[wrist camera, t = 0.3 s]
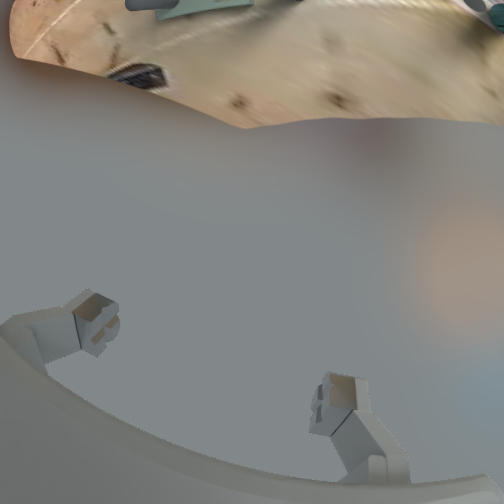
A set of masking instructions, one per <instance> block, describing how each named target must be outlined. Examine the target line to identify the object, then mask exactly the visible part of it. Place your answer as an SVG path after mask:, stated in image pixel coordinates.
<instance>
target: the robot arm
mask: <svg viewBox="0 0 504 504" xmlns="http://www.w3.org/2000/svg"><path fill="white" fill-rule="evenodd" d="M118 312H119V306H118V303H116V302H115V301H113V300H110V299H108V298H106V297H104V296H102V295H100V294H98V293H95V292H94V291H92V290H90V289H85V290H84V291H82V292H81V293H80V294H78V295H77V296H76V297H75V298H73V299H72V300H71V301H69V302H68V303H67V304H66V305H64V306H63V307H60V306H58V307H53V308H48V309H43V310H38V311H33V312H28V313H23V314H18V315H13V316H12V317H10V318H9V319H8V320H7V321H5V322H4V323H3V324H2V325H0V504H504V494H503V492H502V491H501V490H500V488H499V487H498V486H497V485H496V484H495V483H494V481H493V480H492V479H491V478H489V477H488V476H487V475H485V474H477V475H472V476H467V477H461V478H456V479H448V480H441V481H433V482H422V483H411V480H410V470H409V461H408V455H407V454H406V453H405V451H404V450H403V449H402V447H401V446H400V445H399V444H398V443H397V441H396V440H395V439H394V437H393V436H392V435H391V434H390V432H389V431H388V430H387V428H386V427H385V426H384V425H383V424H382V422H381V421H380V420H379V419H378V417H377V416H376V415H375V413H371V409H370V401H369V392H368V384H367V380H366V379H364V378H358V377H352V376H347V375H343V374H338V373H333V372H327V373H326V374H325V375H324V377H323V384H321V385H319V386H318V388H317V389H316V391H315V394H314V397H313V400H312V406H311V409H312V411H313V412H314V414H313V415H312V417H311V418H310V427H309V432H310V433H314V434H319V435H324V436H329V437H331V440H332V442H333V444H334V446H335V448H336V450H337V452H338V454H339V456H340V458H341V460H342V462H343V464H344V466H345V468H346V470H347V472H348V474H347V475H346V476H345V477H343V478H342V479H341V480H339V481H338V482H327V481H318V480H310V479H303V478H296V477H290V476H285V475H279V474H274V473H269V472H264V471H260V470H256V469H252V468H248V467H243V466H240V465H236V464H233V463H229V462H226V461H222V460H219V459H216V458H212V457H209V456H206V455H203V454H200V453H198V452H195V451H192V450H189V449H186V448H184V447H181V446H178V445H176V444H173V443H171V442H168V441H166V440H164V439H161V438H159V437H156V436H154V435H152V434H150V433H147V432H145V431H143V430H141V429H139V428H137V427H134V426H133V425H130V424H128V423H126V422H124V421H123V420H121V419H119V418H117V417H115V416H113V415H111V414H109V413H107V412H105V411H104V410H102V409H100V408H99V407H97V406H95V405H93V404H92V403H90V402H88V401H86V400H85V399H83V398H82V397H80V396H78V395H77V394H75V393H74V392H72V391H71V390H69V389H68V388H66V387H65V386H63V385H62V384H60V383H59V382H57V381H56V380H54V379H53V378H52V377H50V376H49V375H48V372H47V369H46V367H45V364H47V363H49V362H52V361H54V360H57V359H60V358H62V357H65V356H67V355H69V354H72V353H74V352H77V351H79V350H81V349H82V350H84V351H86V352H88V353H90V354H92V355H94V356H96V357H98V356H99V355H100V354H101V353H102V352H103V350H104V349H105V348H106V343H107V342H110V341H112V340H114V338H115V337H116V336H117V333H118V331H119V328H120V319H119V318H118V316H117V313H118Z"/></svg>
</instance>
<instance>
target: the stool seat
mask: <svg viewBox="0 0 504 504" xmlns="http://www.w3.org/2000/svg"><path fill="white" fill-rule="evenodd" d="M245 5H254V3H253V0H230V1H223V2H219V0H125V6H126V8H127V9H128V10H129V11H138V10H151V9H155V10H156V18H157V21H159V20H166V19H170V18H174V17H178V16H182V15H187V14H192V13H197V12H202V11H208V10H214V9H221V8H228V7H236V6H245Z"/></svg>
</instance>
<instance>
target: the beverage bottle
mask: <svg viewBox="0 0 504 504" xmlns="http://www.w3.org/2000/svg"><path fill="white" fill-rule="evenodd" d="M490 16H491V20H492V22H493V24H494V25H495V27H496V28H497V29H498V30H499V31H500V32H502V33H504V4H502V3H501V4H499V3H498V4H496V5H494V6H492V8H491V10H490Z"/></svg>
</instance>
